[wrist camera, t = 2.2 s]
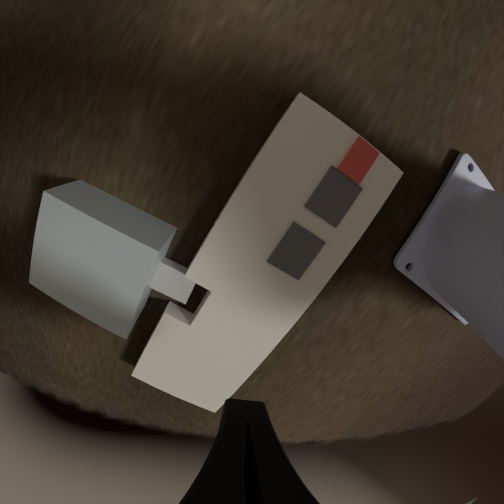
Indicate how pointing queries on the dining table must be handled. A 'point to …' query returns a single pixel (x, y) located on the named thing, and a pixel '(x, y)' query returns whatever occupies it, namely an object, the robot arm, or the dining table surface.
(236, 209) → the power strip
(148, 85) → the dining table surface
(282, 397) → the dining table surface
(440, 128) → the dining table surface
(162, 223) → the charger
